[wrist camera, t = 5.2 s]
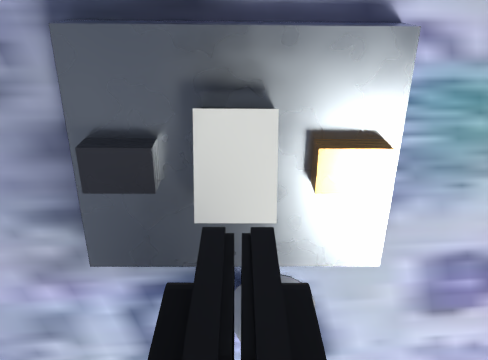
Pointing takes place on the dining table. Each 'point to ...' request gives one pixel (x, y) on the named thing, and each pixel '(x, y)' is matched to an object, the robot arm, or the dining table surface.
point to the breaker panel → (234, 97)
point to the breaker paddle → (235, 165)
